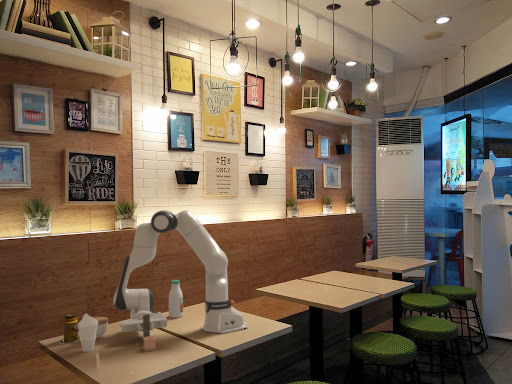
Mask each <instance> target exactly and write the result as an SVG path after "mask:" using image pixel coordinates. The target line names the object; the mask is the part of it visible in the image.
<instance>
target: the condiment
mask: <svg viewBox="0 0 512 384" xmlns="http://www.w3.org/2000/svg"><path fill="white" fill-rule="evenodd" d="M78 324H79V320H78V314H77V313H67V314H65V315H64V321H63V339H57V342H58V343H59V345H60V346H62V345H65V344H71V342H73V343H76V342H75V341H77V340H78V339H79V329H78ZM63 340H64V342H63ZM79 342H81V341H80V339H79V340H78V342H77V343H79ZM73 343H72V344H73Z"/></svg>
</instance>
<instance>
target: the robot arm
mask: <svg viewBox="0 0 512 384" xmlns="http://www.w3.org/2000/svg"><path fill="white" fill-rule="evenodd" d="M136 227H137V228H136V229H135V234H134V238H133V246H132V251H131V253H130V254H129V255H127V256H126V257H125V259H124V261H123V264H122V268H121V272H120V276H119V279H118V284H117V287H116V291H115V293H114V296H113V300H112V301H113V307H114V308H115V309H117V311H127V310H131V311H130V315H129V316H130V319H126V320H123V321H122V322H121V323H119V327H121V332H122V333H130V332H136V331H139V332H143V331H144V327H143V315H145V314H149V315H150V331H152V330H154V329H160V328H167V326H168V319H167V317H166V316H165V315H164V314H162V312H160V311H152V310H153V309H154V303H155V299H154V294H153V293H152V291H151V289H149V288H127V286H128V282H129V279H130V275H131V273H132V271H134V270H135V269H137V268H138V267H142V266H144V265H147V264H149V263H151V262H152V261H153V260H154V259H155V257H156V253H157V248H158V243H157V242H158V237H159V235H160V234H166V233H169V232H171V231H174V230H176V231H178V233H180V235H181V236H182V237H183V239H184V241H186V243H187V244H188V245H189V246H190V248H191V249H192V250H193V251H194V253H195V254H196V256H197V257H198V259H200V261H201V262H202V264H203V265H204V269H205V300H204V312H205V315H204V317H205V318H204V322H203V323H204V324H203V328H202V330H203V331H205V332H209V333H219V334H227V333H231V332H237V331H240V330H241V329H242V330H245V329H244V328H246V329H249V323H247V322H246V321H244V316H243V314H242V313H241V312H240V311H239V310H237V308H235V307H233V306H234V305H235V304H236V302H235V301H234V300H232V299H229V286H228V285H229V283H228V265H229V260H228V257H227V254H226V253H225V252H224V251H223V250H222V249H221V248H220V246H219V244H217V242H216V240H215V239H214V238H213V237H212V235H211V234H210V232H209V231H208V230H207V229H206V228H205V226H204V225H203V223H201V221H200V220H199V219H198V218H197V217H196V216H195V215H194V214H193V213H192V212H190V211H189V210H180V211H179V212H178V213H175V214H174V213H173V212H172V211H170V210H165V209H163V210H159V211H157V212H155V213H154V214H153V215H152V216H151V219H150V222H143V223H141V224H139V225H138V226H136ZM242 330H241V331H242Z"/></svg>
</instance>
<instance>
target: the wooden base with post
mask: <svg viewBox="0 0 512 384" xmlns="http://www.w3.org/2000/svg"><path fill="white" fill-rule="evenodd" d="M143 327H144V331H142V333H143V334H142V339H136V340H135V344H136V345H137V347H138V349H139V351H140V353H146V352H153V351H159V350H161V348H160V346H159V344H158V342H157V341H156V350H149V351H145V350H144V348H143V337H148V336H151V334H150V333H151V330H150V315H149V314H145V315H143Z"/></svg>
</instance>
